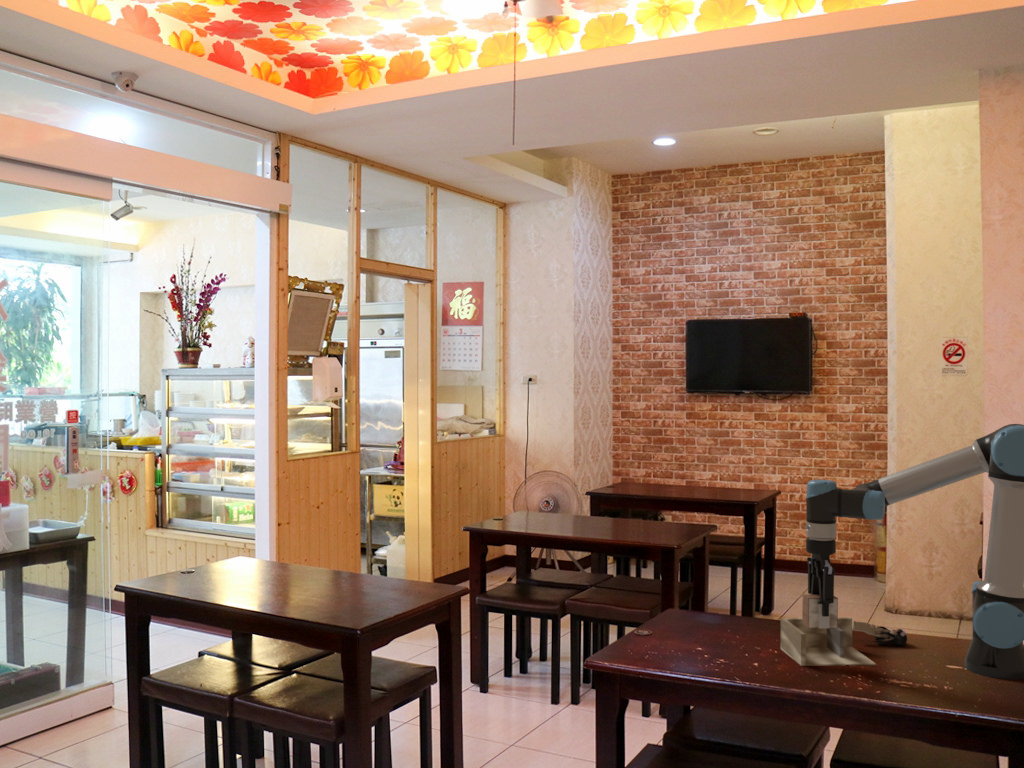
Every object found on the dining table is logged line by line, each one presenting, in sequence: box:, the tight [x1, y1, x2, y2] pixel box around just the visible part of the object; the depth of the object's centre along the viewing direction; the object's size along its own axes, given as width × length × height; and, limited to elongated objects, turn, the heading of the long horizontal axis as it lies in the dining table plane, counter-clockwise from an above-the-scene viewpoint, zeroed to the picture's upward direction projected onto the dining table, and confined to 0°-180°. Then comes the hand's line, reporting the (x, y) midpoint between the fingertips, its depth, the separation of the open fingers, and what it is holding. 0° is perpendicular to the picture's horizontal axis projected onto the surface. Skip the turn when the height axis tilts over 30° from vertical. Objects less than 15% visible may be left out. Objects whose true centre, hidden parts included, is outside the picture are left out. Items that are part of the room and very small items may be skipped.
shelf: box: [779, 616, 877, 667], centre depth 246 cm, size 20×16×9 cm
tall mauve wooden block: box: [801, 594, 839, 628], centre depth 241 cm, size 8×4×8 cm, turn 93°
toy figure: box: [852, 620, 908, 647], centre depth 260 cm, size 7×6×15 cm
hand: (820, 625), depth 241 cm, fingers closed on tall mauve wooden block, 4 cm apart
